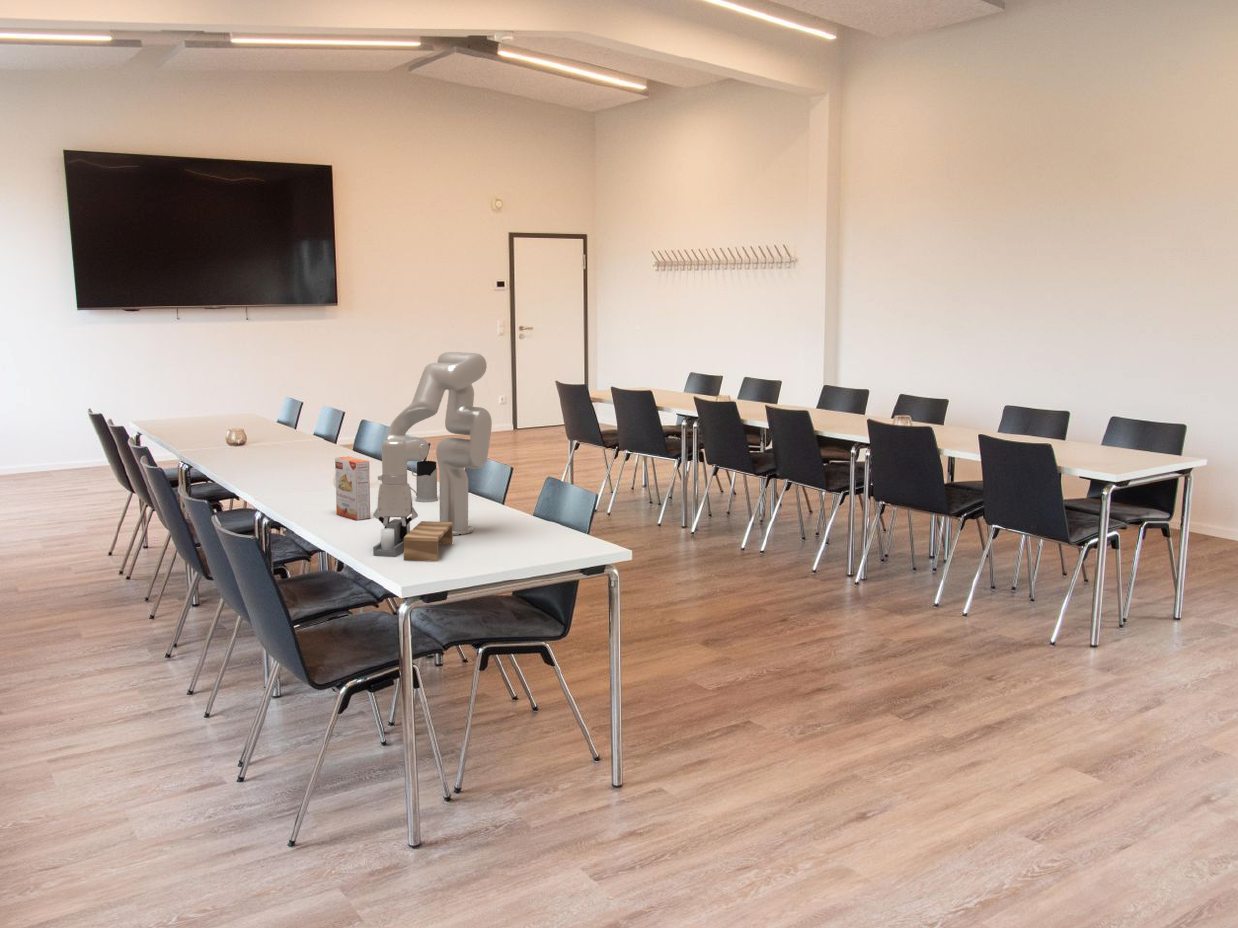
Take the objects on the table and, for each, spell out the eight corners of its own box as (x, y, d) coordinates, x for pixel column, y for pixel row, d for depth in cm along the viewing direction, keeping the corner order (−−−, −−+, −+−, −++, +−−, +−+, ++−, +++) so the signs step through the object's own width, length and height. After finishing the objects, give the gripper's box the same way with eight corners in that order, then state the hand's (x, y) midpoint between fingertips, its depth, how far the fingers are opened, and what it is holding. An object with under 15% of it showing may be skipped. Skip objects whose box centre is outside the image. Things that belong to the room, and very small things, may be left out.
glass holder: (435, 502, 409) (435, 464, 407) (399, 501, 409) (398, 463, 407) (440, 498, 417) (440, 460, 415) (404, 497, 418) (403, 459, 416)
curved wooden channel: (421, 542, 340) (421, 521, 339) (452, 543, 339) (452, 522, 338) (403, 560, 316) (403, 537, 315) (437, 561, 315) (437, 538, 314)
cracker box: (335, 515, 381) (334, 457, 378) (350, 512, 385) (349, 455, 382) (355, 521, 371) (354, 461, 368) (370, 518, 375) (370, 460, 372)
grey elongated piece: (396, 540, 340) (396, 514, 339) (417, 541, 339) (417, 515, 338) (373, 555, 321) (372, 527, 320) (395, 556, 320) (395, 529, 319)
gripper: (364, 481, 323) (365, 540, 326) (419, 482, 323) (419, 541, 326) (371, 477, 331) (372, 534, 334) (424, 478, 330) (425, 535, 333)
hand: (395, 537), depth 330 cm, fingers closed on grey elongated piece, 3 cm apart
